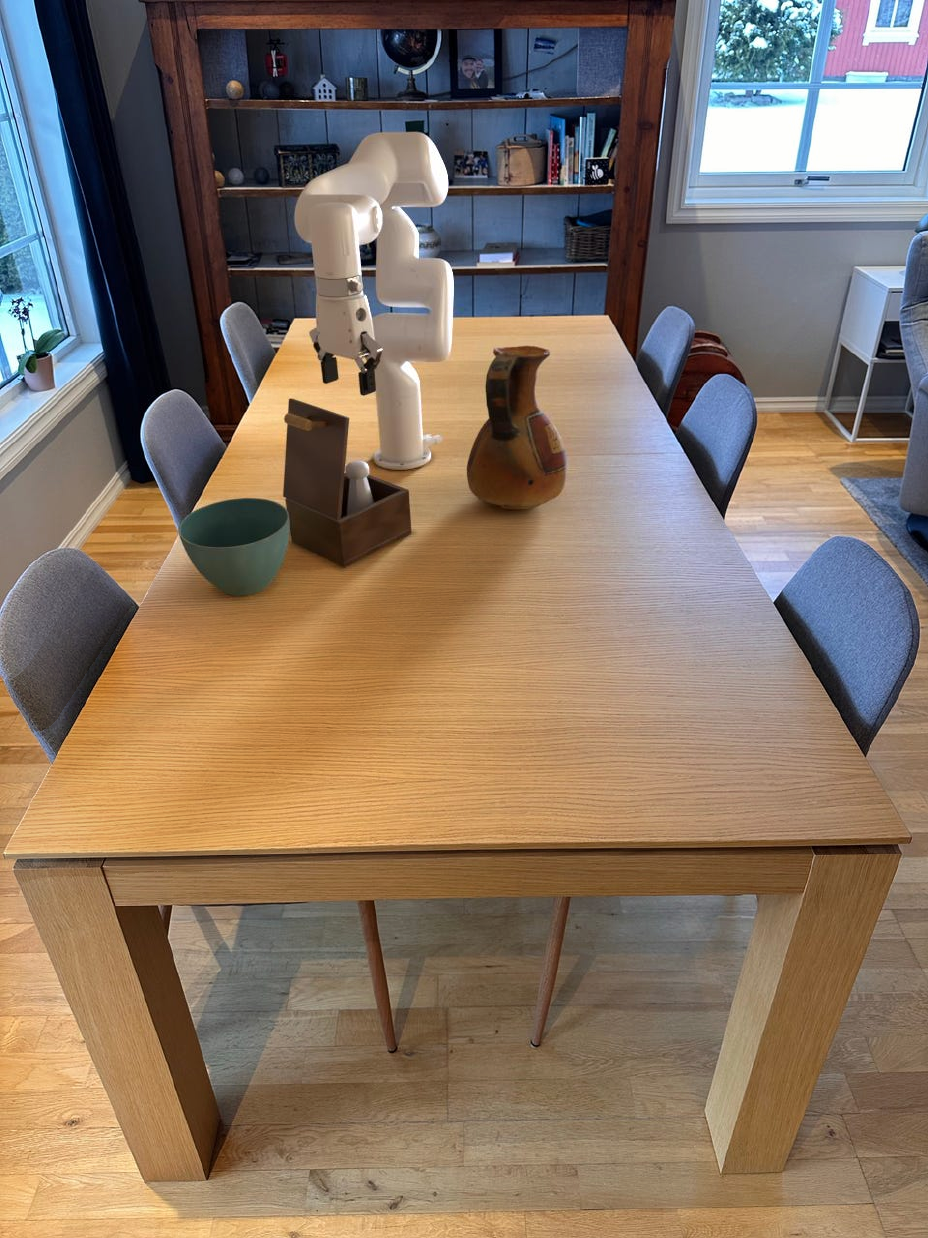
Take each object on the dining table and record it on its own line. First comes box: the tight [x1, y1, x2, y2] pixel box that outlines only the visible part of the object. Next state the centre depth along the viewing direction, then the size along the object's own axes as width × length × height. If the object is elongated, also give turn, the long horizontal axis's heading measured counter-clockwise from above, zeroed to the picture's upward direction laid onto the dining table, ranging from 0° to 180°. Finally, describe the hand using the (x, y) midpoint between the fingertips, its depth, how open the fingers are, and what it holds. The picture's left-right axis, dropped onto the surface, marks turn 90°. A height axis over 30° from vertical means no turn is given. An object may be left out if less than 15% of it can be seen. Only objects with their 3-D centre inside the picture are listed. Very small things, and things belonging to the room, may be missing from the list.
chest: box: [284, 472, 413, 568], centre depth 171 cm, size 17×15×9 cm
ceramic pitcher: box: [466, 345, 568, 510], centre depth 178 cm, size 20×20×30 cm
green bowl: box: [177, 497, 290, 597], centre depth 157 cm, size 18×18×12 cm
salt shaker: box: [345, 460, 374, 516], centre depth 172 cm, size 6×6×13 cm
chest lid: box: [282, 398, 350, 521], centre depth 158 cm, size 18×15×5 cm
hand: (349, 387), depth 160 cm, fingers open, 9 cm apart
